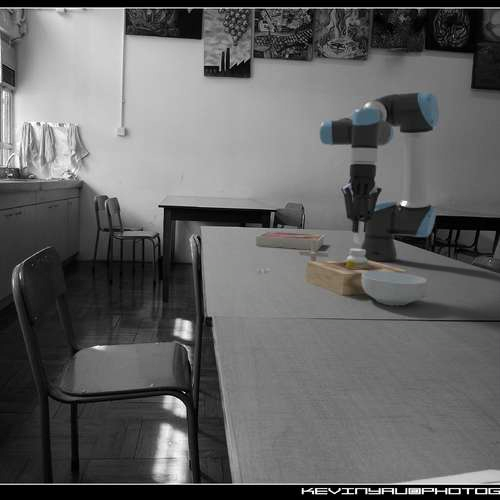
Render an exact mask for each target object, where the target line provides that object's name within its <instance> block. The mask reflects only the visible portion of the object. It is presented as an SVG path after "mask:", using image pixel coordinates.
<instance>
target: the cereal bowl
mask: <svg viewBox="0 0 500 500" xmlns="http://www.w3.org/2000/svg"><path fill="white" fill-rule="evenodd" d="M361 282H362V287H363V289H364V291H365V292H366V293H367V294H366V295H368V296H369V297H371V298H372V299H374V300H375V301H376V302H377V303H378V304H381V305H382V304H383V305H385V306H386V305H388V306H395V305H396V306H395V307H397V306H398V307H400V306H399V305H402V306H406V305H407V304H409V303H413V302H416V301H418V300H420V299H421V298H422V297H424V295H425V293H426V290H427V284H428V280H427V278H425V277H422V276H419V275H415V274H410V273H407V274H406V273H399V272H390V271H367V272H364V273H362V278H361ZM405 304H406V305H405Z"/></svg>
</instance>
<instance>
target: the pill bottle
mask: <svg viewBox="0 0 500 500" xmlns="http://www.w3.org/2000/svg"><path fill="white" fill-rule="evenodd" d="M365 254H366V250H363V249H361V248H350V249H349V256H347V258H346V260H347V261H346V266H347V267H350V268H367V258H366V257H365Z"/></svg>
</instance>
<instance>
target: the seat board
mask: <svg viewBox="0 0 500 500" xmlns="http://www.w3.org/2000/svg"><path fill="white" fill-rule="evenodd" d="M346 261H347V259H345V260H321V261H320V260H318V261H317V260H316V261H312V262H311V261H307V265H306V266H307V267H306V282H309V283H311V284H314V285H316V286H319V287H321V288H322V289H326V290H329V291H331V292H333V293H336V294H338V295H341V296H351V294H354V295H365V294H366V295H368V294H367V293H366V292H365V291H364V289H363V287H362V282H361V278H362V273H364V272H367V271H390V272H399V273H406V274H408V270H405V269H403V268H398V267H394V266H391V265H388V264H383V263H380V262H378V261H372V260H367V268H350V267H347V266H346Z"/></svg>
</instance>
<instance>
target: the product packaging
mask: <svg viewBox="0 0 500 500" xmlns="http://www.w3.org/2000/svg"><path fill="white" fill-rule="evenodd" d="M324 238H325V235H324V234H322V235H321V234H311V233H310V234H309V233H308V234H307V233H295V232H294V233H293V232H280V231H277V232H276V231H266V232H262V233H261V234H258V235H256V238H255V246H256V247H268V248H278V247H283V248H282V249H291V248H296V250H305V249H306V251H311V249H312V240H317V251H320V249H321V248H322V247H323V246H324V244H325V243H324V240H325V239H324ZM322 245H323V246H322ZM321 246H322V247H321ZM320 247H321V248H320ZM319 248H320V249H319Z"/></svg>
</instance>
